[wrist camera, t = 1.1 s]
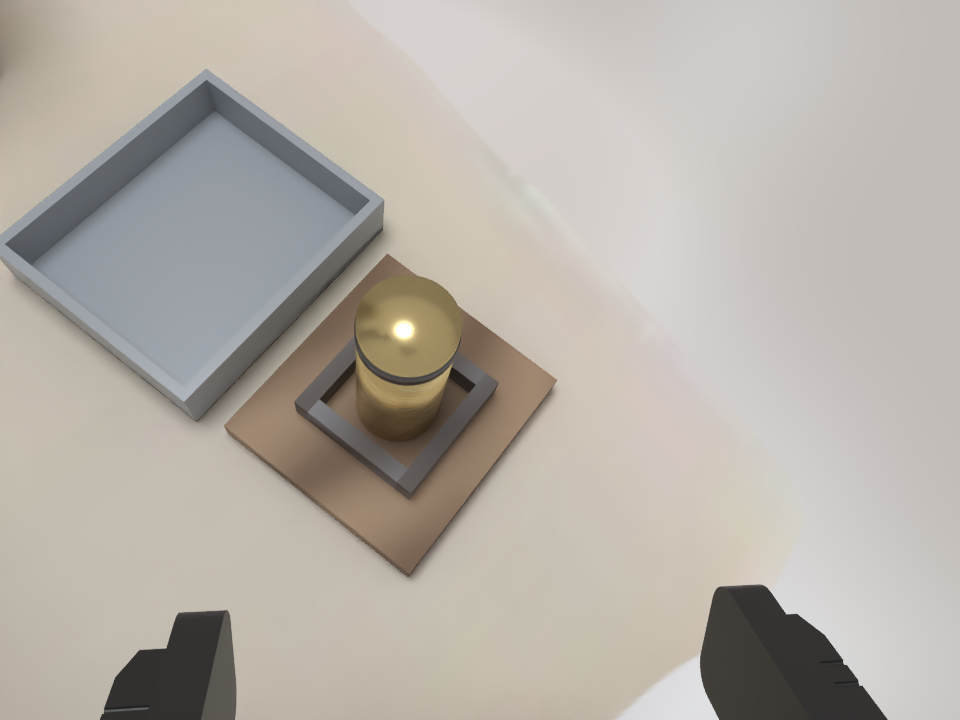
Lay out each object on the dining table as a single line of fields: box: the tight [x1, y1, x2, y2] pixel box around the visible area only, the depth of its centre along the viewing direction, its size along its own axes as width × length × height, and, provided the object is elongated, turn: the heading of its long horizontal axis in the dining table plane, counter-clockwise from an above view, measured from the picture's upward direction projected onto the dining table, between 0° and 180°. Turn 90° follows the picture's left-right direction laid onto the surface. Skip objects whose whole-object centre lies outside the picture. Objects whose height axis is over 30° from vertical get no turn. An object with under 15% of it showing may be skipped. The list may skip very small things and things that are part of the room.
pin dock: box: [224, 254, 557, 576], centre depth 38 cm, size 11×12×3 cm
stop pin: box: [354, 275, 462, 442], centre depth 34 cm, size 4×4×10 cm
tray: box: [0, 69, 384, 422], centre depth 40 cm, size 12×14×3 cm
